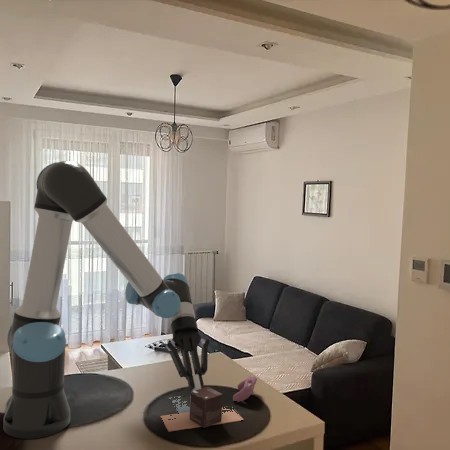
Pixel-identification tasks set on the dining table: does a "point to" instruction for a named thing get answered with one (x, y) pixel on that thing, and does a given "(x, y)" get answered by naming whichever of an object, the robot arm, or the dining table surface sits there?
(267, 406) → the dining table surface
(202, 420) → the box
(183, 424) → the t mat
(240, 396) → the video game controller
